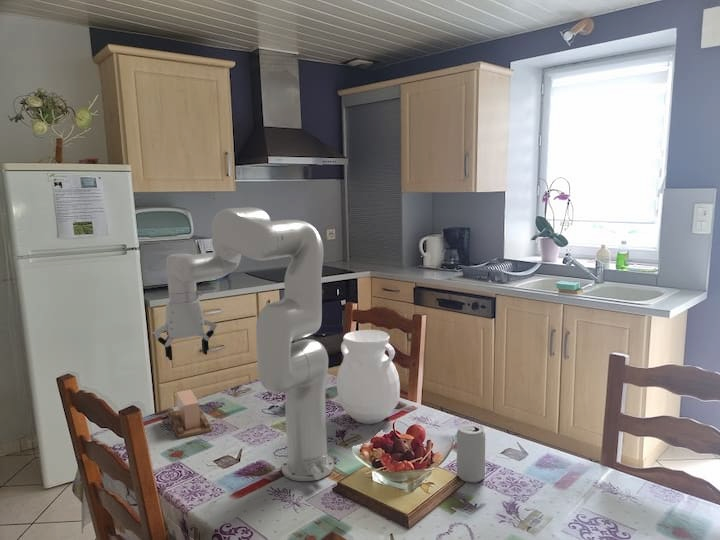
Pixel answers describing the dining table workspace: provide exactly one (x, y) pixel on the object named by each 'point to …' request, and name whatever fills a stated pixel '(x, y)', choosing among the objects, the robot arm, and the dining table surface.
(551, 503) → the dining table surface
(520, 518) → the dining table surface
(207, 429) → the rack
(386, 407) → the white vase
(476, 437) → the beverage can
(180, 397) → the block
